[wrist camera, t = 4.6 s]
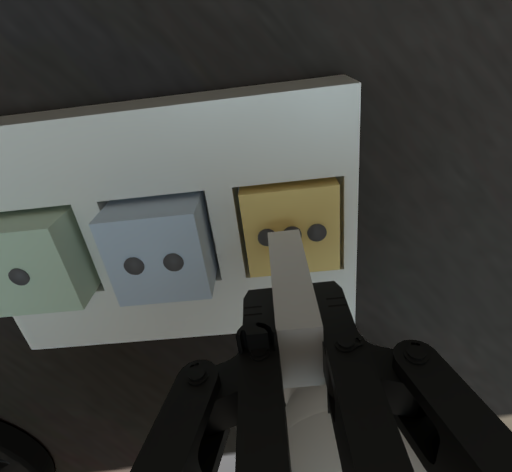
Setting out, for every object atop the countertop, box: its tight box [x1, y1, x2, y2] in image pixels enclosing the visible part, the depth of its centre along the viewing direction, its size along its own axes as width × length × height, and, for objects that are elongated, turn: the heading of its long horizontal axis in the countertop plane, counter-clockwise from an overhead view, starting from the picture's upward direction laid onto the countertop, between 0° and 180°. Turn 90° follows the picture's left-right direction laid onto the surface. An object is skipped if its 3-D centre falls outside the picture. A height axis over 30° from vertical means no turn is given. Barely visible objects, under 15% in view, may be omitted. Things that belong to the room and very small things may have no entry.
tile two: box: [89, 191, 218, 307], centre depth 19 cm, size 5×5×3 cm
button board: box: [0, 74, 361, 350], centre depth 21 cm, size 21×14×4 cm, turn 97°
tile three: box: [238, 177, 340, 278], centre depth 20 cm, size 5×5×3 cm
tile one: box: [0, 205, 101, 317], centre depth 20 cm, size 5×5×3 cm
